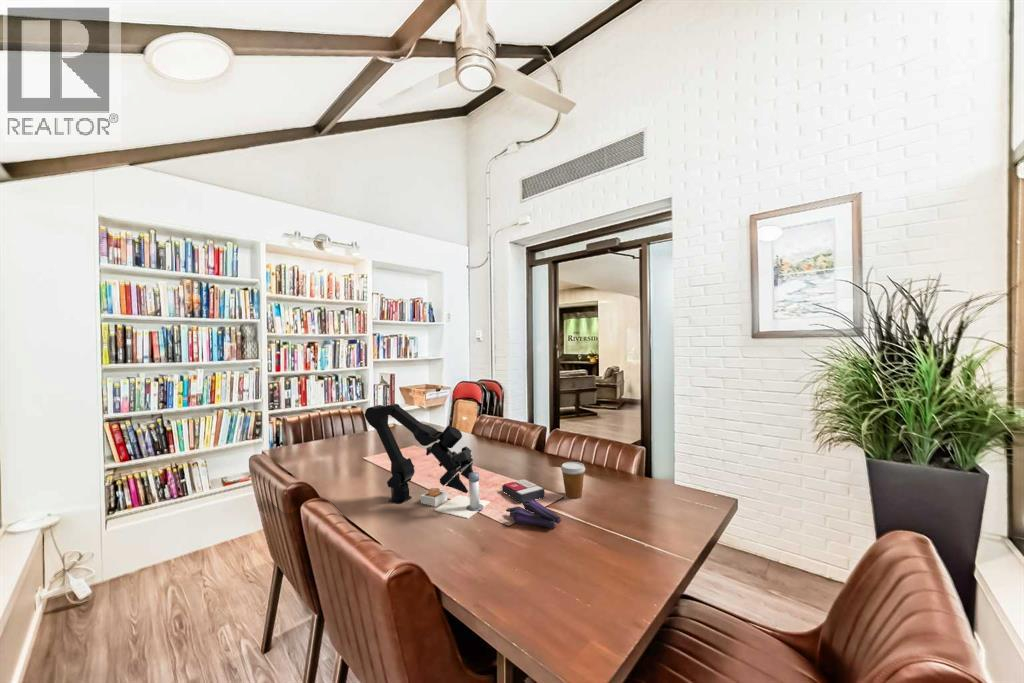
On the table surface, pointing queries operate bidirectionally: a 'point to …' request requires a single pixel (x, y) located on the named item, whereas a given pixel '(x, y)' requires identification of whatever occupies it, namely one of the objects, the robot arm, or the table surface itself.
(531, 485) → the red gray flat box
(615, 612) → the table surface
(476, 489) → the white gray cylinder
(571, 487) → the disposable coffee cup
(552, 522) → the purple stapler
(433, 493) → the button
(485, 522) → the table surface
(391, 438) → the robot arm
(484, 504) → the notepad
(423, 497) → the button housing
